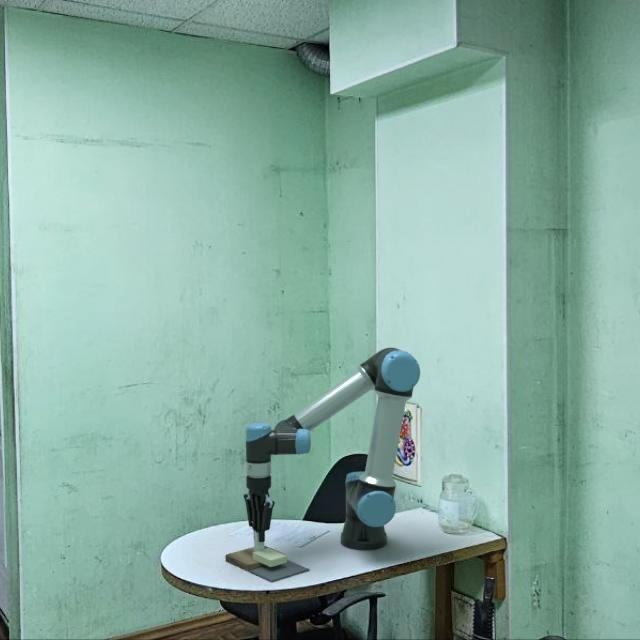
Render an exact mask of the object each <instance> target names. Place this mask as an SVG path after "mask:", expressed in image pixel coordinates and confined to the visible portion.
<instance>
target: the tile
mask: <svg viewBox="0 0 640 640" xmlns="http://www.w3.org/2000/svg"><path fill="white" fill-rule="evenodd" d="M270 548H271V547H269V548H267V549H263V550H260V551H256V552H253V559H254V560H256V561H258V562H260V563H263V564H265V565H267V566H269V567H273V566H277V565H280V564H283V563H287V560H288V556H287V554H286V555H284V554H285V553H284V554H281V553H282V552H281V553H279V552H280V551H279V552H277V551H278V550H277V551H274V550H275V549H274V550H272V549H273V548H272V549H270Z"/></svg>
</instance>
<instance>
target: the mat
mask: <svg viewBox="0 0 640 640" xmlns="http://www.w3.org/2000/svg"><path fill="white" fill-rule="evenodd" d="M309 571H310V568H309V567H305V566H303V565H301V564H298V563H296V562H294V561H292V560H289V559H287V563H283V564H280V565H277V566H273V567H269V566H264V567H261V568H257V569H254V570H250V572H249V573H250V574H253V575H255V576H257V577H259V578H261V579H264V580H265V581H268V582H270V583H274V582H278V581H280V580H284V579H287V578H291V577H294V576H297V575H299V574H303V573H306V572H309Z"/></svg>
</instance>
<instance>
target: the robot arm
mask: <svg viewBox="0 0 640 640" xmlns="http://www.w3.org/2000/svg"><path fill="white" fill-rule="evenodd" d="M420 378H421V368H420V364H419V363H418V361H417V359H416V358H415V357H414V356H413V355H412V354H411V353H409V352H408V351H405V350H402V349H398V348H396V347H385V348H382V349H381V350H379V351H377V352H376V353H374V354H373V355H371V356H370V357H369V358H368V359H366V360H364V362H362V363H360V364H359V365H358V367H357V370H356V371H354V372H353V373H352V374H349V376H347V377H346V378H345V379H343V380H342V381H340V382H338V383H337V384H336V385H334V386H333V387H331V388H330V389H328V390H327V391H325V392H324V393H323V394H321V395H320V396H319V397H316V398H315V399H314V400H313V401H311V402H309V403H308V404H307V405H305V406H303V407H302V408H301V409H299V410H298V411H297V412H295V413H294V414H292V415H290V416H289V417H288V418H286V419H281V420H278V421H277V422H276V423H275V425H274V427H273V429H272V426H271V424H270V423H266V422H255V423H250V424H248V425H247V427H246V429H245V431H246V432H245V460H246V465H245V466H246V467H245V468H246V469H245V470H246V473H245V474H246V477H245V478H246V479H245V480H246V481H245V482H246V483H245V484H246V485H245V486H246V488H247V489H248V493H245V494H243V499H244V501H245V506H246V507H245V508H246V514H247V515H246V516H247V521H248V527H250V528H251V529H252V531H253V544H254V546H253V547H254V552H256V551H260V550H263V549H264V545H265V543H266V531H270V529H271V523H272V517H273V509H274V507H275V505H276V502H275V500H271V498H270V492H269V490H270V488H271V487H272V476H271V474H272V456H283V455H284V456H285V455H298V456H300V455H304V454H309V453H310V451H311V448H312V439H311V437H312V436H311V433H310V432H312V431H314V429H316V428H317V427H319V426H321V425H322V424H323V423H326V422H327V421H328V420H329V419H330V418H332V417H333V416H335V415H336V414H338V413H340V412H341V411H342V410H344V409H345V408H347V407H348V406H349V405H352V404H353V403H354V402H356V401H357V400H359V399H361V397H363V396H364V395H365V394H367V393H369V392H370V391H374V392H375V394H376V395H377V402H376V408H375V414H374V420H373V425H372V430H371V436H370V440H369V441H370V442H369V447H368V452H367V459H366V464H365V465H366V466H365V471H353V472H348V473H347V474H346V477H345V521H344V523H343V528H342V531H341V533H340V544H341V545H342V546H344V547H346V548H349V549H353V550H354V549H355V550H362V551H363V550H364V551H365V550H375V549H380V548H383V547H385V546H386V545H387V544H388V534H387V532H386V530H385V526H386V525H388V523H390V522H391V521H392V520H393V518H394V517H395V514H396V510H397V506H396V501H395V499H394V498H395V492H396V487H397V483H396V482H395V480H394V479H393V475H394V470H395V466H396V465H395V464H396V459H397V454H398V447H399V442H400V437H401V431H402V426H403V421H404V415H405V408H406V403H407V402H408V401H409V400H410V399H412V398H413V392H414V389H415V388H414V387H416V385H417V384H418V383H419V381H420Z"/></svg>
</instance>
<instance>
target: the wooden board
mask: <svg viewBox="0 0 640 640" xmlns="http://www.w3.org/2000/svg"><path fill="white" fill-rule="evenodd" d="M267 548H270V549H272V550H274V551H277V552H279V553H281V554H284V555H286V556H287V554H286V553H284V552H281V551H279V550H276V549H274V548H272V547H269V546H267V545H265V544H264V549H267ZM253 552H254V546H252V547H248V548H244V549H242V550H238V551H234V552H231V553H228V554H225V562H226V563H229V564H231V565H233V566H235V567H238V568H240V569H241V570H244V571H246V572H248V573H250V570H254V569H257V568H261V567H264V566H267V565H265V564H263V563H260V562H258V561H256V560H254V559H253Z"/></svg>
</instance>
